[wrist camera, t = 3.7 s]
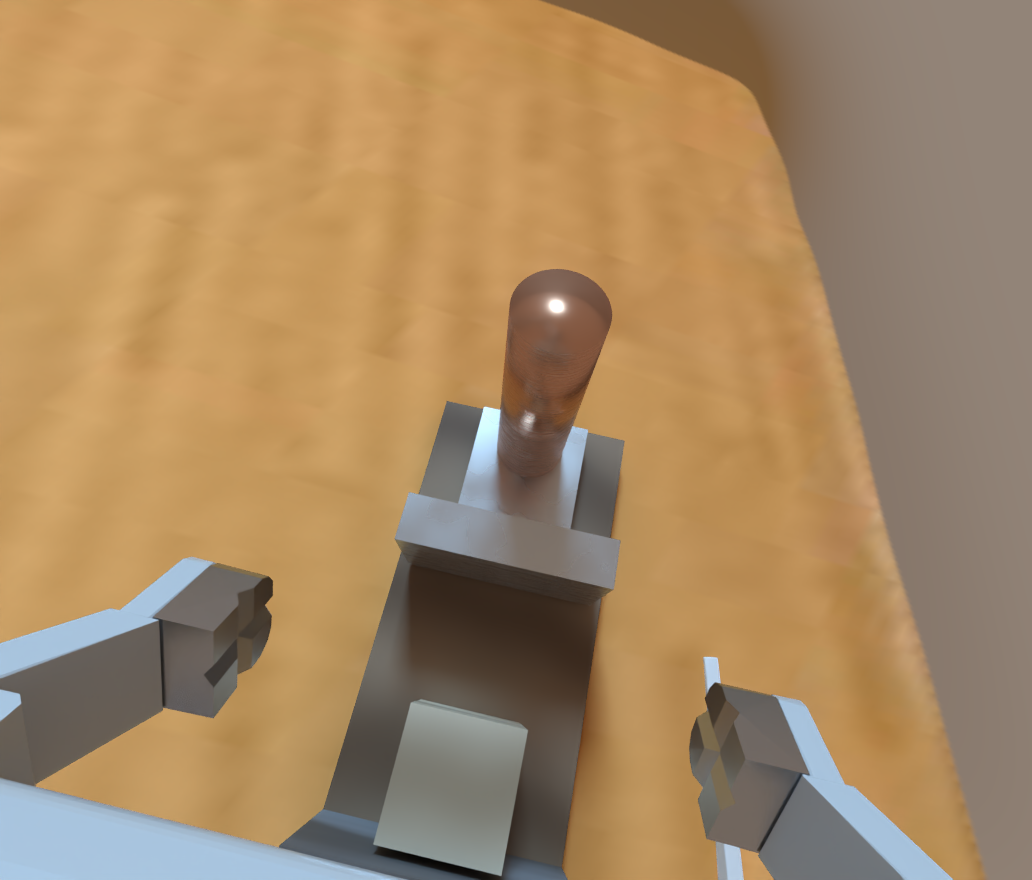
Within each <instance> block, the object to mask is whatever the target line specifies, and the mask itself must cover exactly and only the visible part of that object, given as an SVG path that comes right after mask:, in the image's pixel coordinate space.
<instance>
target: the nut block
mask: <svg viewBox="0 0 1032 880" xmlns="http://www.w3.org/2000/svg"><path fill="white" fill-rule="evenodd" d="M527 733H528V730H527V729H526V728H525V727H524V726H523V725H521V724H520V723H519V722H515V721H511V720H506V719H502V718H498V717H494V716H490V715H485V714H481V713H477V712H473V711H469V710H464V709H460V708H456V707H452V706H448V705H443V704H439V703H435V702H431V701H427V700H422V699H421V700H417V701H414V702H411V704H410V708H409V712H408V715H407V719H406V723H405V727H404V731H403V734H402V738H401V742H400V746H399V749H398V753H397V757H396V761H395V764H394V768H393V772H392V776H391V779H390V783H389V787H388V791H387V794H386V798H385V802H384V806H383V810H382V813H381V817H380V821H379V825H378V828H377V832H376V836H375V840H374V843H373V845H377V846H381V847H385V848H389V849H393V850H397V851H401V852H406V853H410V854H414V855H418V856H422V857H426V858H430V859H434V860H438V861H442V862H446V863H450V864H455V865H459V866H463V867H467V868H471V869H475V870H479V871H483V872H487V873H491V874H495V875H499V876H501V875H502V870H503V864H504V859H505V853H506V848H507V842H508V837H509V831H510V826H511V820H512V815H513V810H514V804H515V799H516V793H517V788H518V782H519V777H520V771H521V766H522V760H523V755H524V749H525V744H526V739H527Z"/></svg>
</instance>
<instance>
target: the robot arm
mask: <svg viewBox="0 0 1032 880" xmlns="http://www.w3.org/2000/svg"><path fill="white" fill-rule="evenodd" d="M272 596H273V580H272V579H271V578H270V577H269V576H265V575H261V574H258V573H254V572H250V571H246V570H242V569H239V568H235V567H231V566H227V565H223V564H219V563H217V564H216V563H214V562H210V561H206V560H202V559H198V558H195V557H189V558H184V559H182V560H181V561H180V562H178V563H177V564H176V565H175V566H174V567H172V568H171V569H170V570H169V571H167V572H166V573H165V574H164V575H162V576H161V577H160V578H159V579H158V580H156V581H155V582H154V583H153V584H151V585H150V586H149V587H148V588H146V589H145V590H144V591H143V592H141V593H140V594H139V595H138V596H137V597H135V598H134V599H133V600H132V601H130V602H129V603H128V604H127V605H125V606H124V607H123V608H122V609H121V610H115V609H107V610H104V611H101V612H98V613H95V614H92V615H88V616H85V617H82V618H79V619H76V620H73V621H69V622H66V623H63V624H60V625H57V626H54V627H50V628H47V629H44V630H41V631H38V632H35V633H31V634H28V635H25V636H22V637H19V638H16V639H12V640H9V641H6V642H3V643H0V880H406V879H402V878H398V877H394V876H390V875H386V874H382V873H378V872H375V871H371V870H367V869H363V868H359V867H355V866H351V865H347V864H343V863H339V862H335V861H331V860H327V859H323V858H319V857H315V856H311V855H307V854H303V853H299V852H295V851H291V850H287V849H283V848H279V847H275V846H271V845H267V844H263V843H259V842H255V841H251V840H247V839H243V838H239V837H235V836H231V835H227V834H223V833H219V832H215V831H211V830H207V829H203V828H199V827H195V826H191V825H187V824H183V823H179V822H175V821H171V820H167V819H163V818H159V817H155V816H151V815H147V814H143V813H139V812H135V811H131V810H127V809H123V808H119V807H115V806H111V805H107V804H103V803H99V802H95V801H91V800H87V799H83V798H79V797H75V796H71V795H67V794H63V793H59V792H55V791H51V790H47V789H43V788H39V787H36V785H35V784H37V783H38V782H40V781H42V780H43V779H45V778H47V777H49V776H50V775H52V774H54V773H56V772H57V771H59V770H61V769H62V768H64V767H66V766H68V765H69V764H71V763H73V762H75V761H76V760H78V759H80V758H81V757H83V756H85V755H87V754H88V753H90V752H92V751H94V750H95V749H97V748H99V747H101V746H102V745H104V744H106V743H107V742H109V741H111V740H113V739H114V738H116V737H118V736H120V735H121V734H123V733H125V732H126V731H128V730H130V729H132V728H133V727H135V726H137V725H139V724H140V723H142V722H144V721H145V720H147V719H149V718H151V717H152V716H154V715H156V714H158V713H159V712H161V711H162V710H163V708H168V709H172V710H177V711H182V712H187V713H191V714H196V715H201V716H205V717H210V718H214V717H215V715H216V714H217V713H218V711H219V710H220V709H221V707H222V706H223V705H224V704H225V702H226V701H227V700H228V698H229V697H230V696H231V694H232V693H233V692H234V690H235V689H236V688H237V675H238V674H240V673H242V672H244V671H246V670H248V669H250V668H252V666H253V665H254V664H255V662H256V661H257V660H258V658H259V657H260V655H261V653H262V651H263V649H264V647H265V645H266V642H267V640H268V637H269V633H270V628H271V617H272V615H271V614H270V612H269V611H268V609H267V608H266V606H265V604H266V603H267V602H268V601H269V599H270V598H271V597H272ZM705 701H706V704H707V708H708V711H706V712H705V713H703V714H701V715H700V716H698V717H697V718H696V721H695V723H694V726H693V729H692V731H691V739H690V746H689V751H690V763H691V768H692V773H693V776H694V777H695V778H696V779H697V780H698V782H699V783H700V784H701V785H702V787H703V789H702V791H701V794H700V796H699V798H698V802H699V806H700V811H701V815H702V820H703V824H704V829H705V833H706V838H707V839H709V840H713V841H717V842H720V843H724V844H727V845H731V846H735V847H738V848H742V849H746V850H749V851H753V852H756V853H759V855H758V856H759V858H760V859H761V861H762V862H763V864H764V865H765V867H766V868H767V870H768V871H769V873H770V874H771V876H772V877H773V878H774V880H953V879H952V878H951V877H950V876H949V875H948V874H947V873H946V872H945V871H943V870H942V869H941V868H940V867H939V866H938V865H937V864H936V863H935V862H934V861H933V860H932V859H931V858H930V857H929V856H927V855H926V854H925V853H924V852H923V851H922V850H921V849H920V848H919V847H918V846H917V845H916V844H915V843H914V842H913V841H911V840H910V839H909V838H908V837H907V836H906V835H905V834H904V833H903V832H902V831H901V830H900V829H899V828H898V827H896V826H895V825H894V824H893V823H892V822H891V821H890V820H889V819H888V818H887V817H886V816H885V815H884V814H883V813H882V812H880V811H879V810H878V809H877V808H876V807H875V806H874V805H873V804H872V803H871V802H870V801H869V800H868V799H867V798H866V797H864V796H863V795H862V794H861V793H860V792H859V791H858V790H857V789H856V788H855V787H852V786H848V785H845V784H844V782H843V779H842V777H841V775H840V773H839V771H838V769H837V767H836V765H835V763H834V761H833V759H832V757H831V755H830V753H829V751H828V749H827V747H826V745H825V743H824V741H823V739H822V737H821V735H820V733H819V731H818V729H817V727H816V725H815V723H814V721H813V719H812V717H811V715H810V713H809V711H808V709H807V707H806V706H805V705H804V704H803V703H802V702H801V701H800V700H795V699H790V698H786V697H781V696H776V695H768V694H764V693H760V692H756V691H751V690H747V689H743V688H738V687H734V686H730V685H725V684H721V683H717V682H715V683H714V684H713V685H712V686H711V687H710V688H709V690H708V693H707V695H706V697H705Z"/></svg>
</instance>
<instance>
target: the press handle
mask: <svg viewBox="0 0 1032 880" xmlns="http://www.w3.org/2000/svg"><path fill="white" fill-rule="evenodd" d="M611 321H612V309H611V305H610V302H609V299H608V298H607V296H606V294H605V293H604V291H603V290H602V289H601V288H600V287H599V286H598V285H597V284H596V283H595V282H594V281H592V280H591V279H589V278H588V277H586V276H584V275H582V274H579V273H577V272H573V271H569V270H562V269H550V270H544V271H540V272H537V273H535V274H532V275H531V276H529V277H527V278H526V279H524V280H523V281H522V282H521V283H520V284H519V285H518V286H517V288H516V289H515V291H514V292H513V294H512V297H511V301H510V308H509V319H508V330H507V341H506V352H505V363H504V374H503V385H502V396H501V407H500V410H497V409H492V408H488V407H484V410H483V413H482V417H481V421H480V424H479V428H478V432H477V435H476V439H475V443H474V447H473V450H472V454H471V458H470V461H469V465H468V469H467V472H466V476H465V480H464V484H463V487H462V491H461V495H460V498H459V502H458V503H454V502H450V501H445V500H441V499H437V498H432V497H428V496H423V495H419V494H415V493H410V492H409V494H408V498H407V501H406V504H405V507H404V510H403V514H402V517H401V520H400V523H399V527H398V530H397V533H396V536H395V540H396V542H397V544H398V546H399V548H400V549H401V551H402V553H403V555H404V557H405V558H406V560H407V562H408V564H412V565H416V566H420V567H425V568H429V569H433V570H438V571H442V572H446V573H451V574H455V575H459V576H463V577H468V578H472V579H476V580H481V581H485V582H489V583H494V584H498V585H502V586H507V587H511V588H515V589H520V590H524V591H528V592H532V593H537V594H541V595H545V596H550V597H554V598H558V599H563V600H567V601H571V602H576V603H580V604H584V605H589V606H590V605H591V604H593V603H594V602H596V601H597V600H599V599H600V598H602V597H603V596H605V595H606V594H608V593H609V592H611V591H612V590H613V589H614V583H615V576H616V569H617V561H618V554H619V547H620V540H616V539H612V538H607V537H603V536H598V535H594V534H590V533H585V532H581V531H577V530H572V529H570V528H571V523H572V517H573V511H574V506H575V500H576V495H577V489H578V483H579V478H580V472H581V467H582V461H583V455H584V450H585V444H586V439H587V433H588V430H586V429H582V428H577V427H573V423H574V421H575V418H576V415H577V413H578V410H579V408H580V405H581V402H582V400H583V397H584V394H585V392H586V389H587V386H588V384H589V381H590V378H591V376H592V373H593V370H594V368H595V365H596V362H597V360H598V357H599V355H600V352H601V349H602V347H603V344H604V341H605V339H606V336H607V333H608V331H609V328H610V325H611Z"/></svg>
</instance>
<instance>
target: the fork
mask: <svg viewBox="0 0 1032 880" xmlns="http://www.w3.org/2000/svg"><path fill="white" fill-rule="evenodd" d="M703 661H704V674H705V688H706V695H707V693H708V690H709V688H710V687H711V686H712V685H713V684H714V683H715V682H717V683H721V682H720V674H719V665H718V659H717V658H715V657H703ZM707 711H708V708H707ZM716 853H717V869H718V880H744V879H743V870H742V862H741V853H740V848H738V847H735V846H731V845H727V844H724V843H720V842H717V841H716Z"/></svg>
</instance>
